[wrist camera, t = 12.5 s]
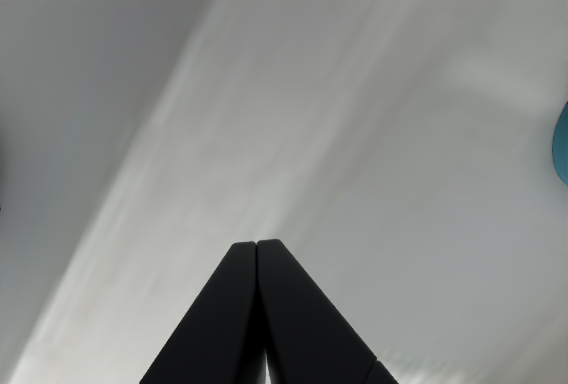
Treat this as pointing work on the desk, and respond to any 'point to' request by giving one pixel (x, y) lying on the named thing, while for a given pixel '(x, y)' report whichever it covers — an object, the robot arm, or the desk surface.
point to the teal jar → (561, 146)
